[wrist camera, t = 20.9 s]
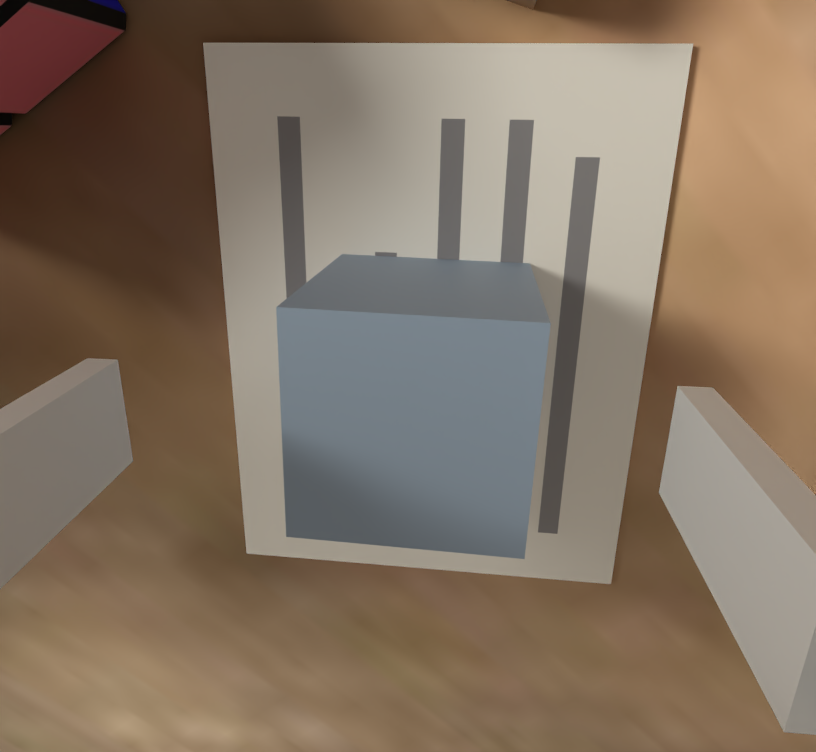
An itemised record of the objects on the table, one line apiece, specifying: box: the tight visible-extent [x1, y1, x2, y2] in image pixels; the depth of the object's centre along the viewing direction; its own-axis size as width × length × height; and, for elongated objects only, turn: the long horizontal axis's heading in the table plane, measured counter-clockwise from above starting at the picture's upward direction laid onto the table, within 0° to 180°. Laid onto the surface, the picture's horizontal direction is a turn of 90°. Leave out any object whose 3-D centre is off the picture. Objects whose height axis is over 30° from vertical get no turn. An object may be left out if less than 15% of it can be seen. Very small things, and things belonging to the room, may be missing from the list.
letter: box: [203, 43, 693, 584], centre depth 22 cm, size 14×18×1 cm
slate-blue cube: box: [276, 254, 551, 559], centre depth 18 cm, size 6×6×7 cm
